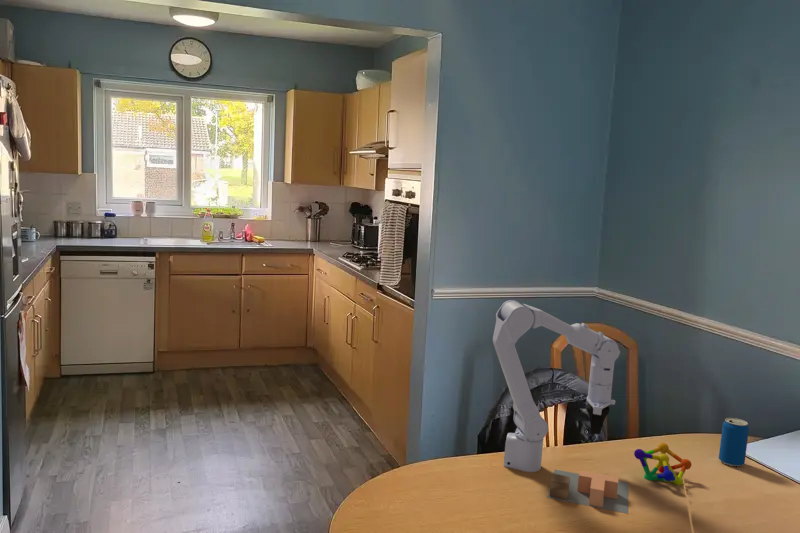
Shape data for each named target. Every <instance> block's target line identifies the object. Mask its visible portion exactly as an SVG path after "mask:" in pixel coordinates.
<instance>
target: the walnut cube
mask: <svg viewBox="0 0 800 533" xmlns="http://www.w3.org/2000/svg"><path fill="white" fill-rule="evenodd" d="M551 475H552V476H551V478H550V485H549V488H550V496H549V497H554V498H559V499H564V500H567V497H568V492H569V482H570V477H568V476H563V475H557V474H554V473H552V474H551Z"/></svg>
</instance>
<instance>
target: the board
mask: <svg viewBox="0 0 800 533" xmlns="http://www.w3.org/2000/svg"><path fill="white" fill-rule="evenodd" d="M553 474H557V475H563V476H568V477H570V482H569V492H568V497H567V500H564V499H559V498H554V497H549V496H550V487H549V489H548V492H547V497H546V498H547V499H551V500H556V501H561V502H567V503H570V504H571V503H573V504H576V505H583V506H587V507H592V508H598V509H602V510H607V511H612V512H618V513H621V514H622V513H623V514H627V515H628V514H629V482H625V481H620V480H618V490H617V499H615V498H610V497H605V496H603V506H602V507H598V506H593V505H589V497H590V494H589V493H584V492H579V491H577V489H578V478H579V473H576V472H572V471H566V470H561V469H554V471H553Z"/></svg>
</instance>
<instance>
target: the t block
mask: <svg viewBox="0 0 800 533" xmlns="http://www.w3.org/2000/svg"><path fill="white" fill-rule="evenodd" d="M578 474H579V478H578V489H577V491H579V492H584V493H589V494H590V497H589V505H593V506H598V507H602V506H603V496H605V497H610V498H615V499H617V490H618V481H619V477H617V476H611V475H606V474H601V473H595V472H590V471H584V470H579V472H578Z"/></svg>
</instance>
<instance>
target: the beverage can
mask: <svg viewBox="0 0 800 533" xmlns="http://www.w3.org/2000/svg"><path fill="white" fill-rule="evenodd" d="M748 424H749V423H748V422H747V421H746V420H744V419H740V418H737V417H726V418H725V419H724V421H723V422H722V427H721V428H722V429H721V434H720V435H721V437H720V445H719V454H718V460H720V461H721V463H722V464H724V465H725V464H726V465H725V466H728V465H729V466H728V467H732V466H737V467H736V468H739V467H738V466H740V467H741V466H743V465H745V462H746V454H747V449H748V448H747V447H748V442H749V441H748V438H749V431H750V427H749V425H748Z"/></svg>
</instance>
